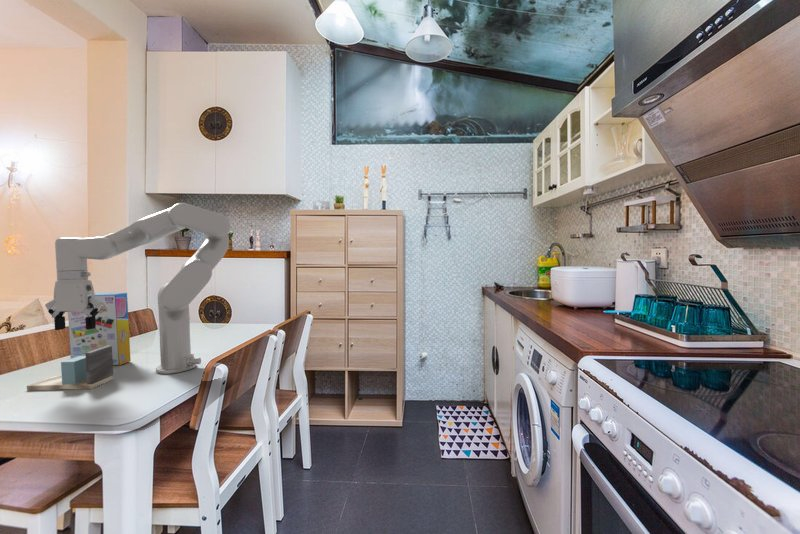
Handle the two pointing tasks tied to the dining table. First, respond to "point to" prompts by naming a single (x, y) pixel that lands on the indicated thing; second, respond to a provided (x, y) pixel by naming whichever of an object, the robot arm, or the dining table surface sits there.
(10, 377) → the dining table surface
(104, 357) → the wooden bookend
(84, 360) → the pale blue upright box
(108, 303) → the game box
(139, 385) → the dining table surface
